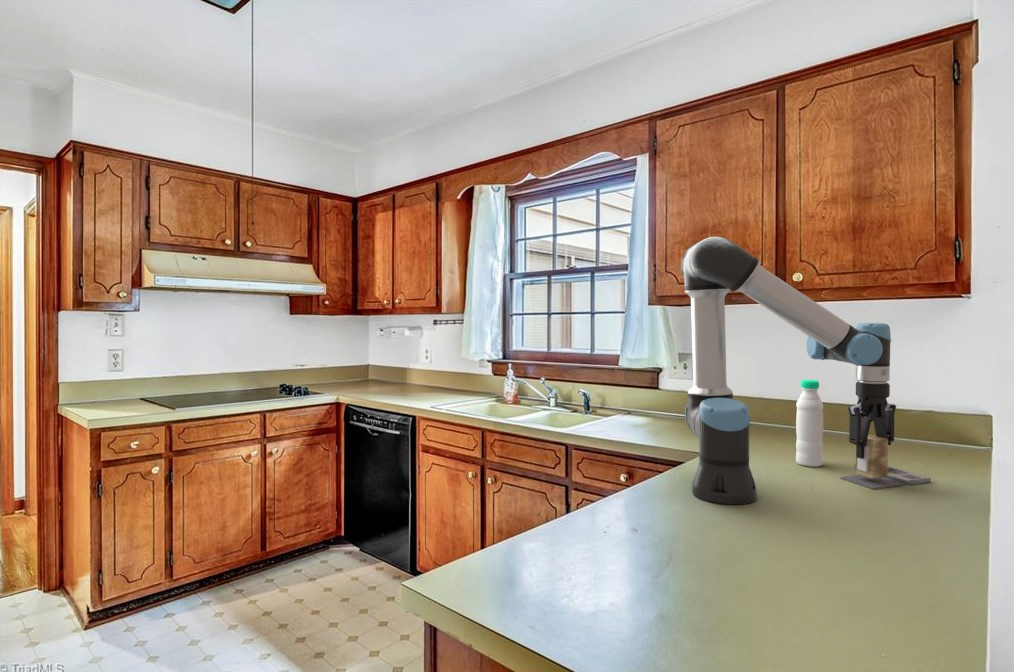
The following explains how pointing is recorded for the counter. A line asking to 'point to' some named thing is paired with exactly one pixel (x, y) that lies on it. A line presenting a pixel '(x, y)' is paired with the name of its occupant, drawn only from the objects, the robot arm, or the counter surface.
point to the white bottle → (809, 425)
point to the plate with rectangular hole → (905, 477)
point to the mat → (872, 482)
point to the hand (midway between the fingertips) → (871, 469)
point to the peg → (876, 458)
